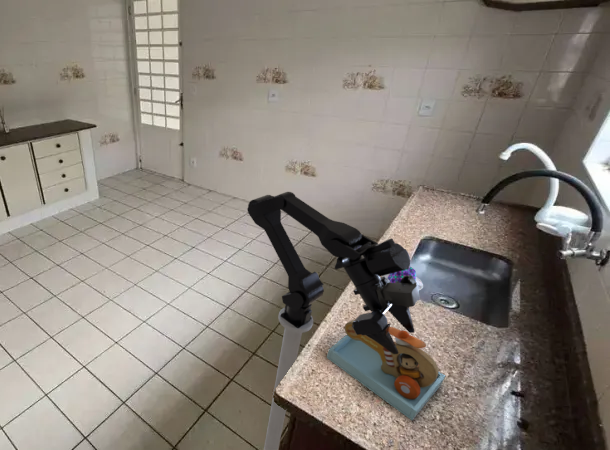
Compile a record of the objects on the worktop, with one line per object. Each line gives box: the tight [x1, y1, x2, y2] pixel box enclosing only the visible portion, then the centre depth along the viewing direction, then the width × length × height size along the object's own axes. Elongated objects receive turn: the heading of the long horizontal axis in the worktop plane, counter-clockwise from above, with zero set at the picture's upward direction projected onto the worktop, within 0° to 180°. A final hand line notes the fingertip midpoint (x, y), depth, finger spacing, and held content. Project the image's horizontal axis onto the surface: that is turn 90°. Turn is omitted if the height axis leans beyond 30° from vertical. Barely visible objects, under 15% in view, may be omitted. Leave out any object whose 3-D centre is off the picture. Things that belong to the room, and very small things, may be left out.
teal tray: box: [326, 334, 446, 421], centre depth 84 cm, size 21×15×3 cm
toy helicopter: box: [344, 319, 440, 399], centre depth 82 cm, size 8×21×14 cm, turn 37°
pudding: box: [381, 266, 424, 292], centre depth 114 cm, size 12×12×5 cm
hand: (404, 342), depth 77 cm, fingers open, 9 cm apart
